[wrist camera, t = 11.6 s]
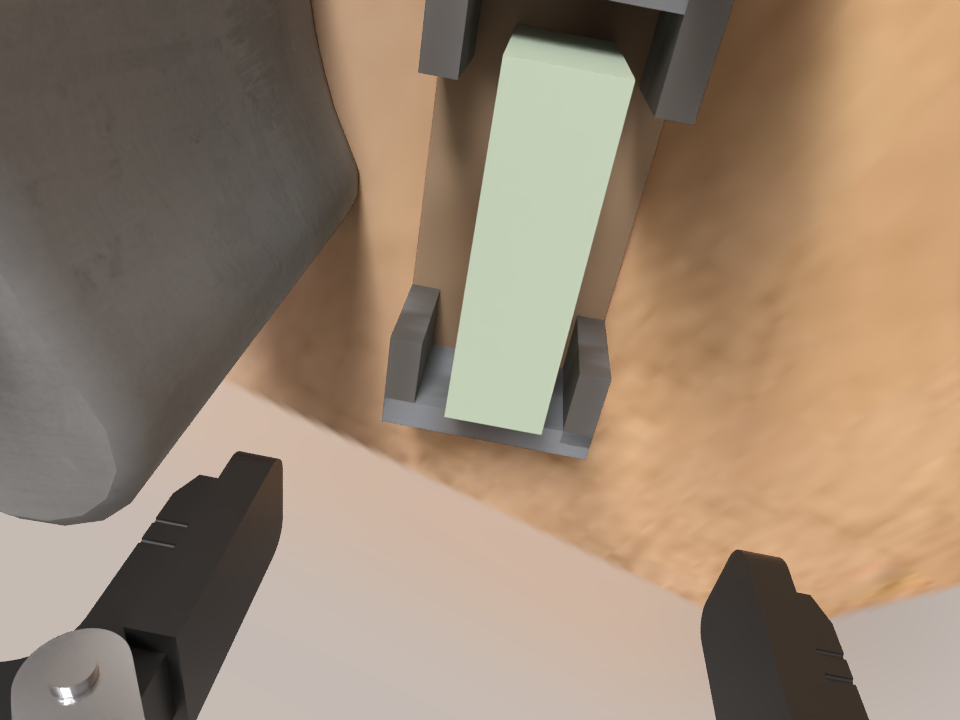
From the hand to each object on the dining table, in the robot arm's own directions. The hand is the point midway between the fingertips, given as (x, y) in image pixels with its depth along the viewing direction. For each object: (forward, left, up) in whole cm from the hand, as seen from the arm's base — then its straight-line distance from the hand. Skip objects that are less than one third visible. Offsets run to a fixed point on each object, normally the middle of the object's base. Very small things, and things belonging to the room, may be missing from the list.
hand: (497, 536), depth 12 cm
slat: (0, 0, -18) cm, 18 cm away
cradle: (0, 0, -18) cm, 18 cm away
